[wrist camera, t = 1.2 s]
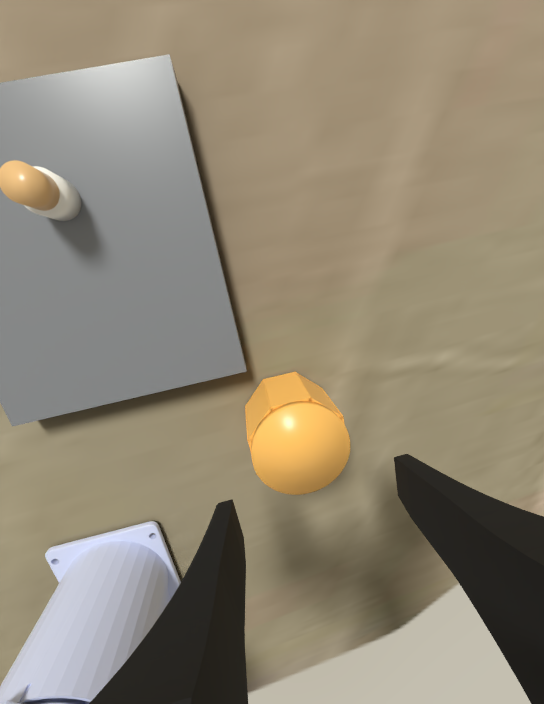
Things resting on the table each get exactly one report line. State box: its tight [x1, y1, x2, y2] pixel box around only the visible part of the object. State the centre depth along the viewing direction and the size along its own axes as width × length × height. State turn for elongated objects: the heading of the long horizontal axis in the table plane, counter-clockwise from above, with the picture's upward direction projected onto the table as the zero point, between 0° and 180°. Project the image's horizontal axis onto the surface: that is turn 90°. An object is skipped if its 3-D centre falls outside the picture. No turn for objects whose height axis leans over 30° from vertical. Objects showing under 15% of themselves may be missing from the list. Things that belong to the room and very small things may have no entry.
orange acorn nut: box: [245, 372, 350, 495], centre depth 18 cm, size 6×5×5 cm
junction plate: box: [0, 55, 247, 426], centre depth 15 cm, size 16×14×4 cm
